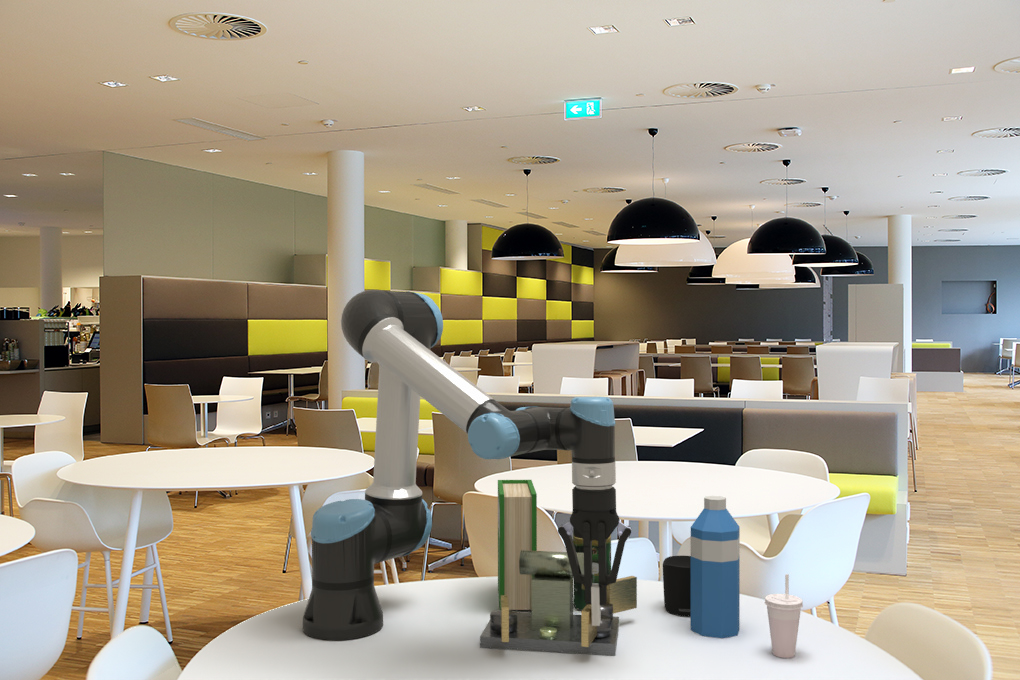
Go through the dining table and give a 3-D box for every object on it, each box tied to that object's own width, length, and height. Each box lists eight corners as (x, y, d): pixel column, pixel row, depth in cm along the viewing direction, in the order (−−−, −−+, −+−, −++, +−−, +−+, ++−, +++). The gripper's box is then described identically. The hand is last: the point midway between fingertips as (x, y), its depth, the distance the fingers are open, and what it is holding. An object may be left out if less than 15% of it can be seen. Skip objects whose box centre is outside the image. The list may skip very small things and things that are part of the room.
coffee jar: (574, 598, 186) (573, 510, 186) (611, 599, 185) (611, 511, 185) (571, 612, 176) (571, 520, 176) (611, 613, 175) (611, 521, 175)
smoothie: (797, 663, 149) (797, 581, 149) (760, 656, 152) (760, 575, 152) (806, 651, 154) (807, 572, 154) (770, 645, 157) (770, 567, 157)
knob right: (586, 626, 161) (586, 591, 161) (613, 629, 159) (613, 593, 159) (570, 648, 150) (570, 610, 150) (599, 651, 148) (599, 612, 148)
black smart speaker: (653, 610, 178) (653, 561, 178) (681, 600, 184) (681, 553, 184) (691, 621, 171) (691, 570, 171) (719, 611, 177) (719, 561, 177)
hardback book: (536, 613, 175) (536, 494, 175) (499, 614, 175) (499, 494, 175) (531, 588, 193) (531, 479, 193) (497, 588, 193) (497, 479, 193)
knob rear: (598, 624, 162) (598, 589, 162) (581, 617, 166) (580, 583, 166) (643, 612, 169) (643, 579, 168) (625, 606, 173) (625, 573, 173)
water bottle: (749, 629, 166) (749, 497, 166) (724, 642, 159) (724, 504, 159) (706, 618, 172) (706, 491, 172) (680, 630, 165) (680, 498, 165)
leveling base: (480, 647, 156) (479, 561, 156) (495, 620, 171) (495, 541, 171) (615, 655, 152) (615, 567, 152) (618, 627, 167) (618, 546, 167)
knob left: (489, 623, 163) (489, 588, 163) (516, 622, 163) (516, 587, 163) (490, 645, 151) (490, 607, 151) (519, 644, 151) (519, 607, 151)
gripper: (554, 489, 149) (556, 628, 148) (630, 489, 147) (633, 631, 146) (559, 482, 156) (561, 615, 156) (632, 483, 154) (634, 618, 154)
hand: (596, 623), depth 151 cm, fingers closed
